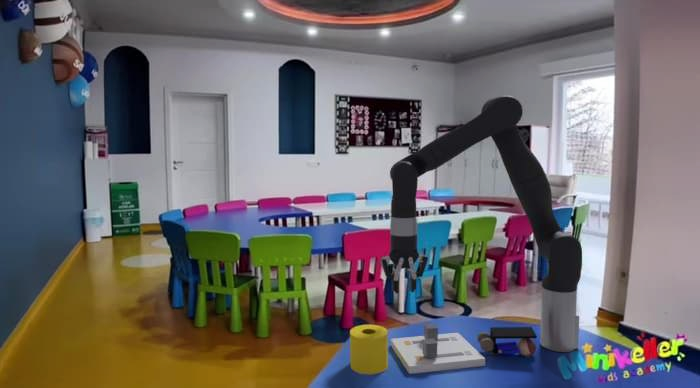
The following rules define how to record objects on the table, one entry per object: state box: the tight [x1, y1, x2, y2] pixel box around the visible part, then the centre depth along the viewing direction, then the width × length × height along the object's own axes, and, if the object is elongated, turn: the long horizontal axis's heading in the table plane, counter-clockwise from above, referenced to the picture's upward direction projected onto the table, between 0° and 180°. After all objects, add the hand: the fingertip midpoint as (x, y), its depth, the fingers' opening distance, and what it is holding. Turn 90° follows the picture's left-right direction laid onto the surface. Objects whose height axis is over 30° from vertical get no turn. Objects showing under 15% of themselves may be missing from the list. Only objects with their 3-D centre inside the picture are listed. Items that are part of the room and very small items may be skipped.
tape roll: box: [349, 324, 389, 375], centre depth 127 cm, size 10×10×9 cm
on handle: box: [422, 339, 438, 358], centre depth 127 cm, size 3×3×4 cm
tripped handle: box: [423, 323, 439, 341], centre depth 138 cm, size 3×3×4 cm
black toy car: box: [477, 326, 538, 357], centre depth 132 cm, size 7×8×15 cm
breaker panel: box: [390, 332, 486, 375], centre depth 133 cm, size 21×18×2 cm
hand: (404, 291), depth 135 cm, fingers open, 4 cm apart
